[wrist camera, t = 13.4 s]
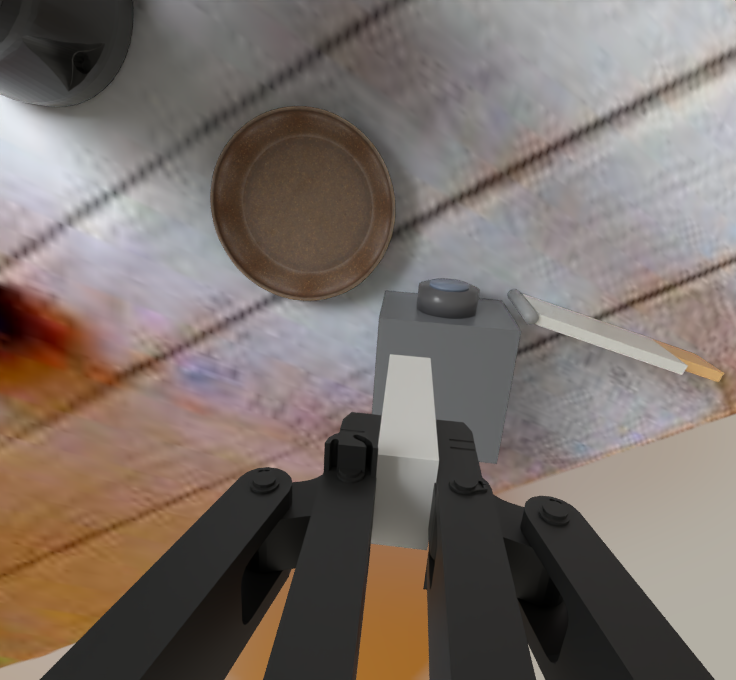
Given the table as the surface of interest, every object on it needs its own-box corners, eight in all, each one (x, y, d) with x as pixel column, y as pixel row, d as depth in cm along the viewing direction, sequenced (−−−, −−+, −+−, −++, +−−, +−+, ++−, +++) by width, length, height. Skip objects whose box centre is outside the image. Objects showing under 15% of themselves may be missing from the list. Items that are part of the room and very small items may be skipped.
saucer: (271, 317, 44) (262, 326, 41) (190, 158, 40) (175, 157, 37) (423, 255, 41) (423, 261, 38) (352, 75, 37) (348, 69, 34)
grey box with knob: (387, 266, 41) (380, 291, 33) (505, 276, 40) (528, 304, 32) (376, 406, 46) (368, 458, 38) (482, 416, 45) (497, 472, 37)
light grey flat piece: (505, 298, 41) (522, 322, 35) (510, 287, 41) (528, 309, 34) (685, 360, 41) (733, 395, 35) (692, 350, 41) (741, 383, 35)
